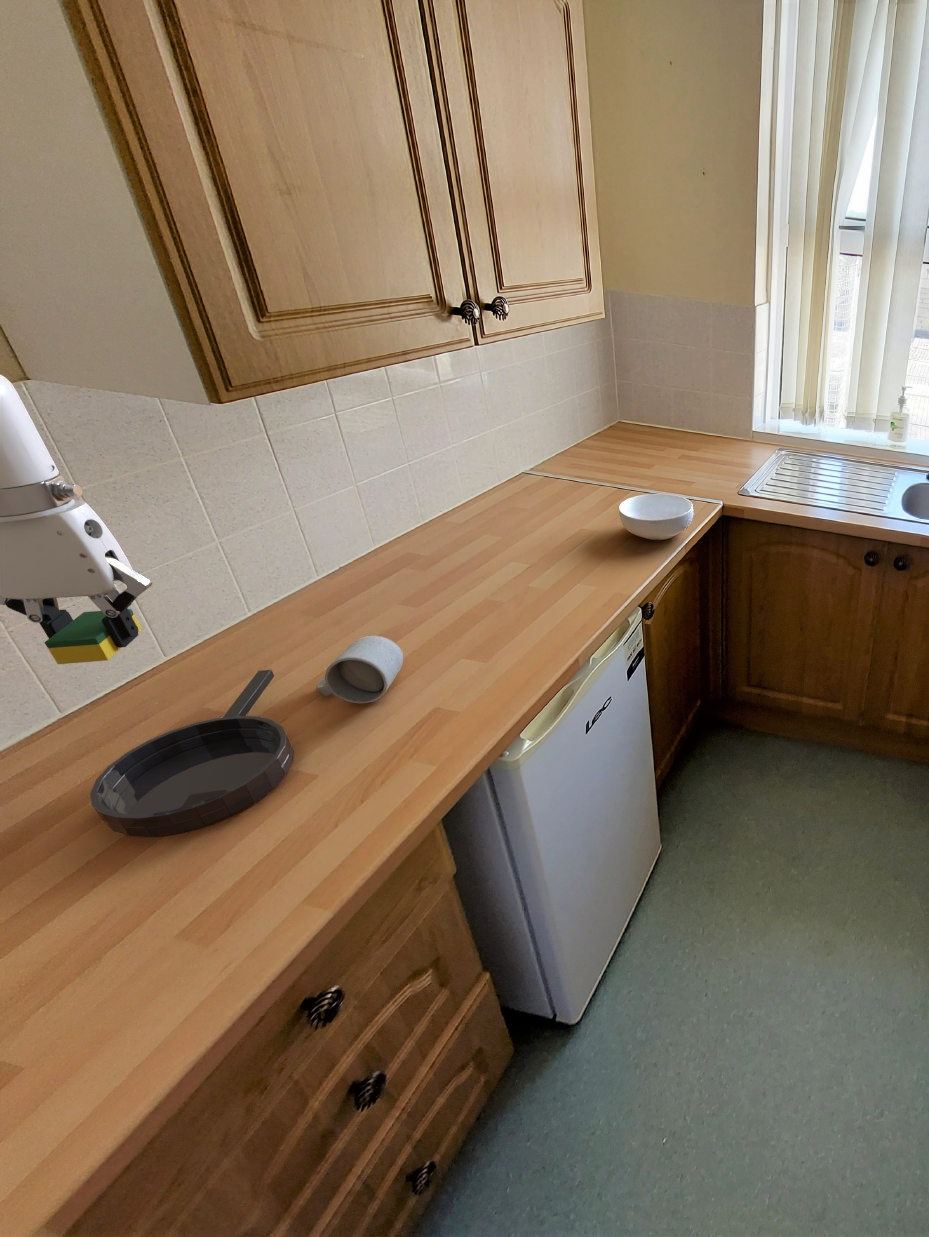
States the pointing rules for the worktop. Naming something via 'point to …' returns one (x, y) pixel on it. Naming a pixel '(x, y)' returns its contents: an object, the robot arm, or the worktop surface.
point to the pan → (193, 776)
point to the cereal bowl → (656, 515)
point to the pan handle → (250, 694)
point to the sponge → (84, 640)
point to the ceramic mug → (363, 670)
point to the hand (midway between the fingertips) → (99, 642)
